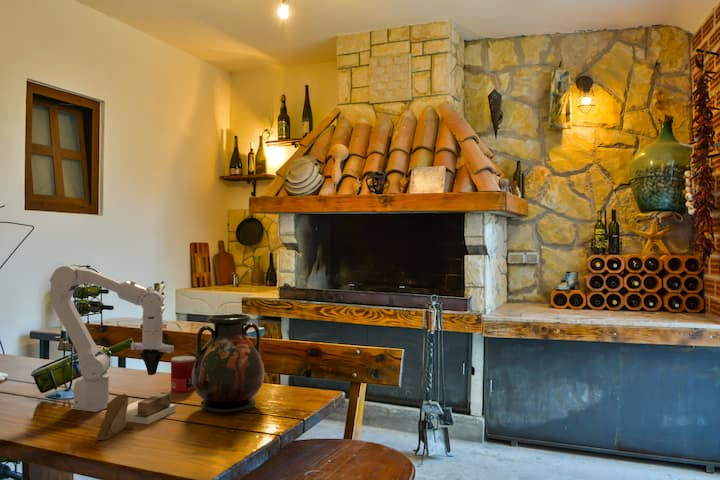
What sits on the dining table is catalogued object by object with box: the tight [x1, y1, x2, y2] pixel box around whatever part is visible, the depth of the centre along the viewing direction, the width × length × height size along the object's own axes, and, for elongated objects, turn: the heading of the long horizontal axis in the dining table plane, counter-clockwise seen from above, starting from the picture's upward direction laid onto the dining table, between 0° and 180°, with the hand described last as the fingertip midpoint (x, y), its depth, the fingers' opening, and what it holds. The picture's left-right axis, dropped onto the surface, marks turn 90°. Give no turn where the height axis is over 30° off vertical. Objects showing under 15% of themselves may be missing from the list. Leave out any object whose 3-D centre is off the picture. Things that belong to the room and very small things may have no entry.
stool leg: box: [138, 391, 172, 416], centre depth 156 cm, size 12×3×4 cm, turn 164°
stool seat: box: [126, 399, 176, 425], centre depth 157 cm, size 13×13×2 cm
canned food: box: [170, 355, 196, 394], centre depth 184 cm, size 8×8×11 cm
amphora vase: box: [192, 313, 265, 416], centre depth 165 cm, size 22×22×28 cm
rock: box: [95, 393, 129, 441], centre depth 142 cm, size 11×9×10 cm
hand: (151, 374), depth 168 cm, fingers closed
